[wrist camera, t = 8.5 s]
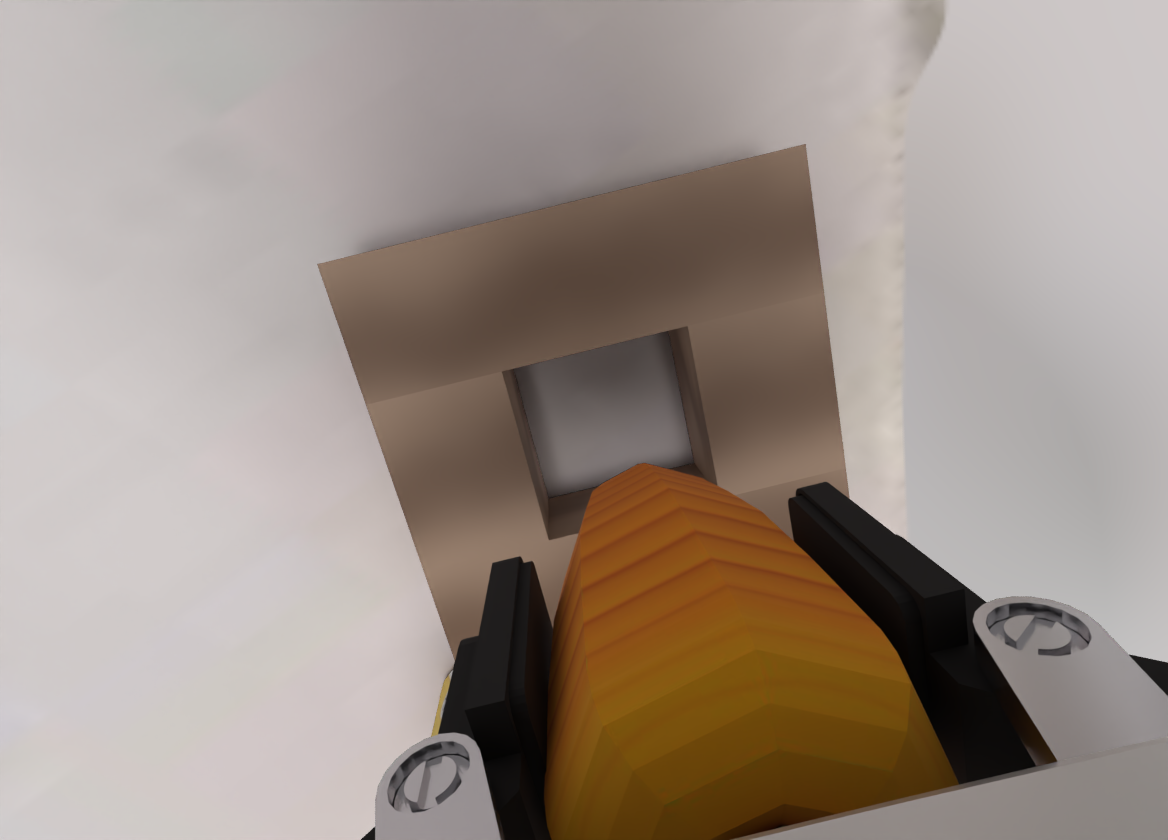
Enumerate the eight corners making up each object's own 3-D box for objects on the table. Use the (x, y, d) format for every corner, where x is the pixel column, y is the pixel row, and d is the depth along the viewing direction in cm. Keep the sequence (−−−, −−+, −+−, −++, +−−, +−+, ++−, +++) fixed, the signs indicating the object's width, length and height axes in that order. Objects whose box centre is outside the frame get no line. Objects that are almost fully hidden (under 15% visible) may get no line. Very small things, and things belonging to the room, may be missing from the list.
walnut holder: (356, 263, 23) (317, 264, 19) (761, 164, 23) (805, 144, 19) (472, 617, 27) (460, 676, 23) (814, 534, 27) (859, 579, 23)
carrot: (510, 501, 17) (282, 1930, 2) (621, 365, 16) (1286, 1283, 2) (643, 594, 18) (1048, 1997, 3) (753, 470, 17) (1905, 1624, 3)
